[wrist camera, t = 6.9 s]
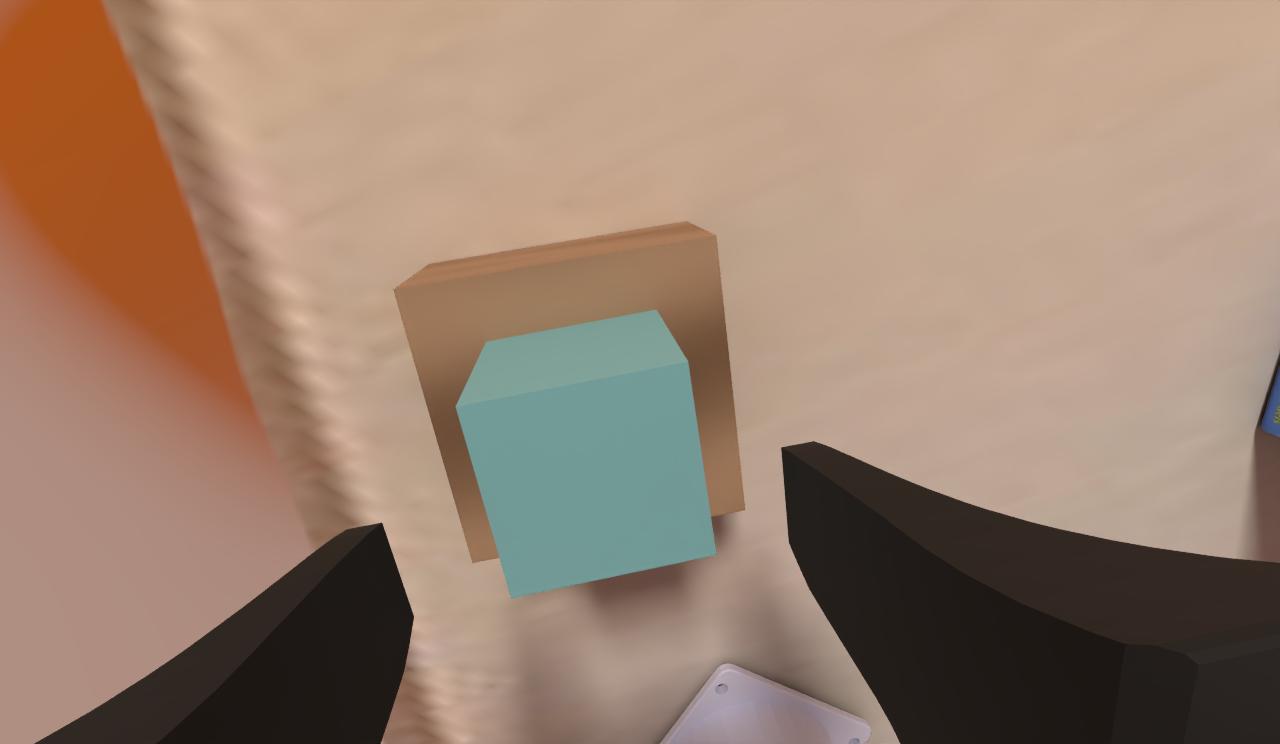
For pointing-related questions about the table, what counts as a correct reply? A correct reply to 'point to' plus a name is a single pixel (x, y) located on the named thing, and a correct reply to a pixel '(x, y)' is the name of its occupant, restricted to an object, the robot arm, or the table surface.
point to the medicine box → (1273, 410)
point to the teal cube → (587, 452)
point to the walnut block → (564, 296)
